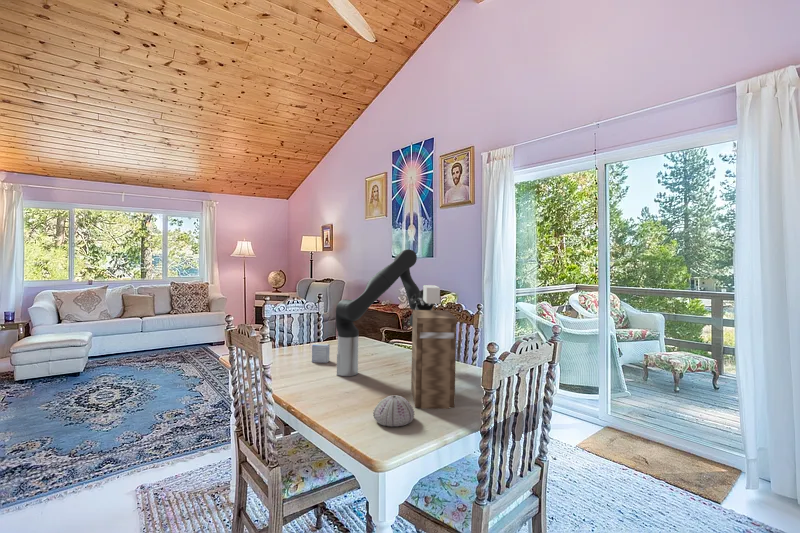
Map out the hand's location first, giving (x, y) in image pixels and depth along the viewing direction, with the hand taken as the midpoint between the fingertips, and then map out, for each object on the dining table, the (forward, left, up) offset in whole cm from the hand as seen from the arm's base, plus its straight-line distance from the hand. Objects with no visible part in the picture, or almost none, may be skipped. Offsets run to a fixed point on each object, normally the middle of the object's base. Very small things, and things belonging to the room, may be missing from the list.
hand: (428, 291), depth 164 cm
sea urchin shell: (-15, -37, -39) cm, 56 cm away
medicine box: (-49, +34, -39) cm, 71 cm away
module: (0, -6, -3) cm, 6 cm away
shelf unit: (0, -17, -39) cm, 42 cm away
